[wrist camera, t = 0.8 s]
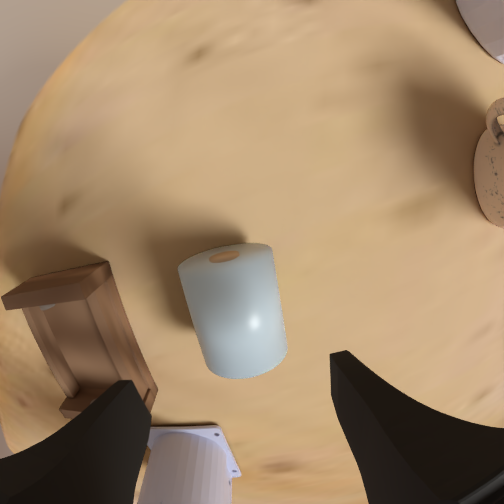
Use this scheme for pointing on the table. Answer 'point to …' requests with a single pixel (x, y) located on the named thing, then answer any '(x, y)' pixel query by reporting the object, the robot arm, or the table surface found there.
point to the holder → (83, 334)
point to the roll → (236, 309)
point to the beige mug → (491, 166)
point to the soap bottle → (485, 24)
